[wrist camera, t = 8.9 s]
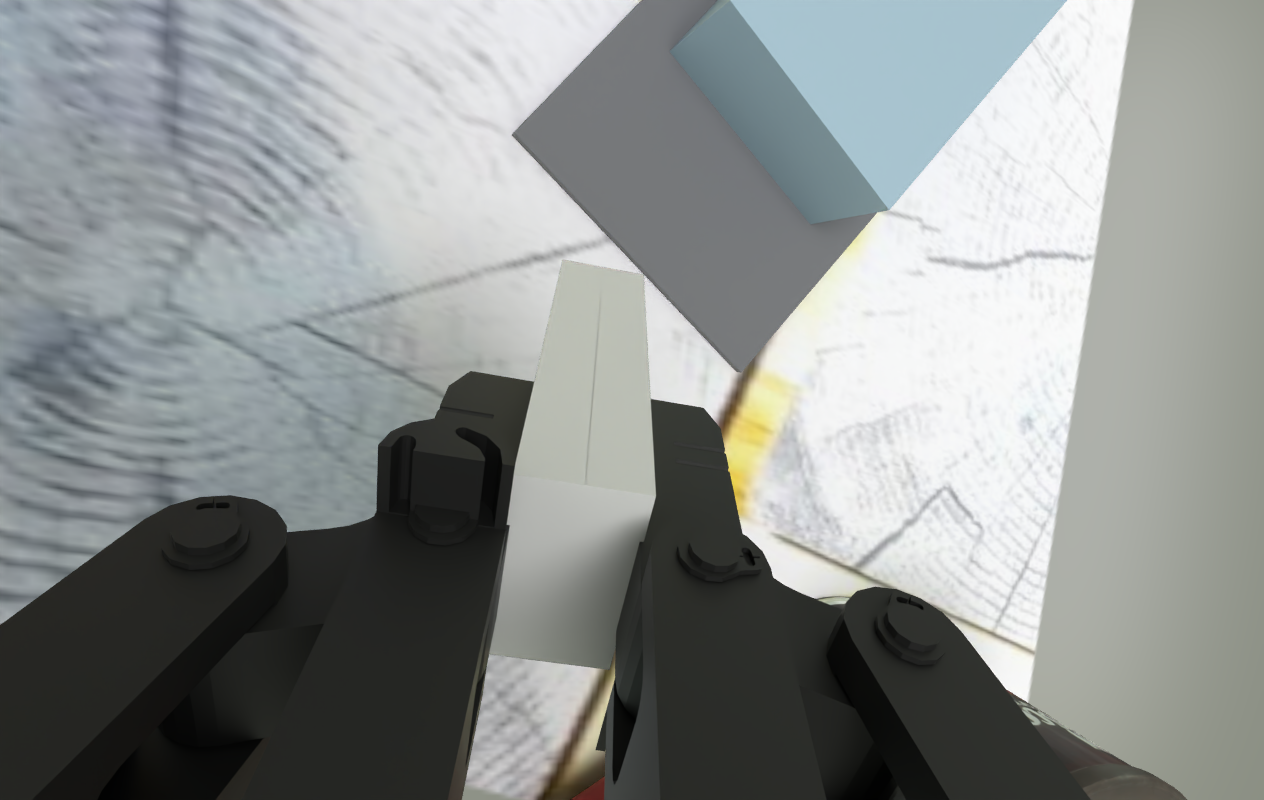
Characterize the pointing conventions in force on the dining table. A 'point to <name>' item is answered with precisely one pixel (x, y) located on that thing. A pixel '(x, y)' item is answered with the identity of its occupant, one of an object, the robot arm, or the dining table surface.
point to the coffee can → (1087, 757)
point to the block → (853, 86)
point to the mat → (681, 185)
